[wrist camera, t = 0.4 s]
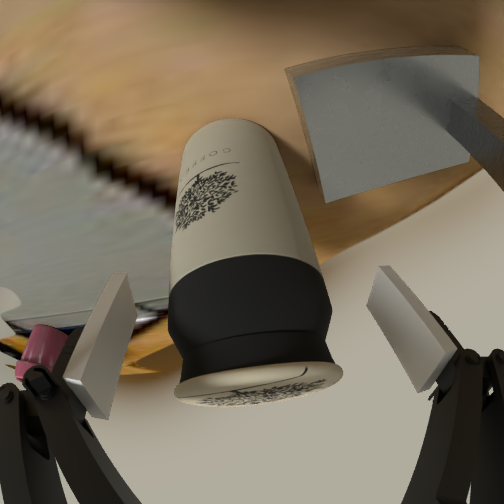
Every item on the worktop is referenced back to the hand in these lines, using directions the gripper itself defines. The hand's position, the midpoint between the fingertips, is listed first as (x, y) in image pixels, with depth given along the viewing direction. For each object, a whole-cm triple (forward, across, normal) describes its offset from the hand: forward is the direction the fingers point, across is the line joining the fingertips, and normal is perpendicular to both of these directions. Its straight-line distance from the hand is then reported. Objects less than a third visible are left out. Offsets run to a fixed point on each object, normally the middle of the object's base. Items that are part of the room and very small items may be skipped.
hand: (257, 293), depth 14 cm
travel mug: (+12, -1, +5) cm, 13 cm away
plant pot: (+25, -40, -30) cm, 56 cm away
